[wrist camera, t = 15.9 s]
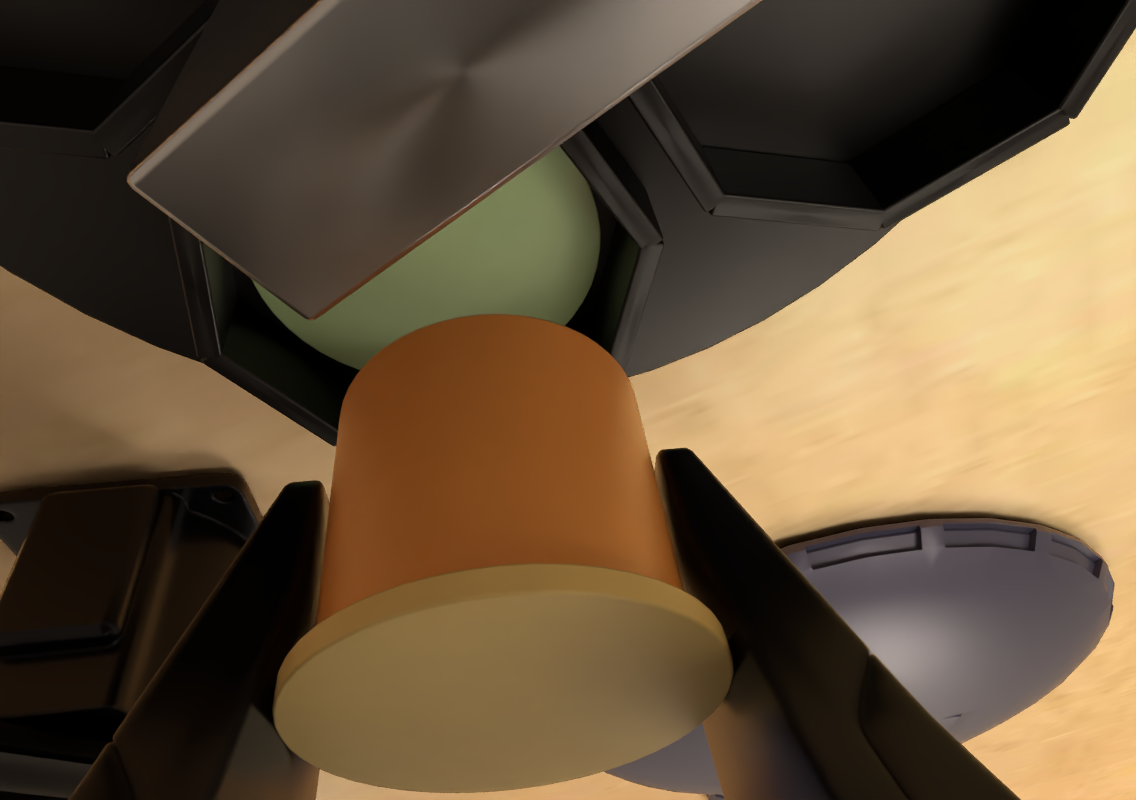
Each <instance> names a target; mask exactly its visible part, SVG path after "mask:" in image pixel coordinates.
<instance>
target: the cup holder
mask: <svg viewBox="0 0 1136 800" xmlns="http://www.w3.org/2000/svg"><path fill="white" fill-rule="evenodd" d="M1135 28H1136V0H0V266H1V267H3V268H4V269H6V270H7V271H9V272H10V273H12V274H14V275H16V276H18V277H19V278H21V279H23V280H25V281H27V282H28V283H30V284H32V285H34V286H36V287H37V288H39V289H41V290H43V291H44V292H46V293H48V294H50V295H52V296H53V297H55V298H57V299H59V300H61V301H62V302H64V303H66V304H68V305H70V306H71V307H73V308H75V309H77V310H79V311H80V312H82V313H84V314H86V315H88V316H90V317H93V318H95V319H97V320H99V321H101V322H104V323H106V324H108V325H110V326H112V327H115V328H117V329H119V330H121V331H123V332H126V333H128V334H130V335H132V336H134V337H137V338H139V339H141V340H143V341H145V342H148V343H150V344H152V345H154V346H156V347H159V348H162V349H165V350H167V351H170V352H173V353H176V354H179V355H181V356H184V357H187V358H190V359H193V360H195V361H198V362H201V363H204V364H205V365H207V366H208V367H210V368H212V369H213V370H215V371H216V372H218V373H219V374H221V375H222V376H224V377H226V378H227V379H229V380H230V381H232V382H233V383H235V384H237V385H238V386H240V387H241V388H243V389H244V390H246V391H248V392H249V393H251V394H252V395H254V396H255V397H257V398H258V399H260V400H262V401H263V402H265V403H266V404H268V405H269V406H271V407H273V408H274V409H276V410H277V411H279V412H280V413H282V414H284V415H285V416H287V417H288V418H290V419H291V420H293V421H295V422H296V423H298V424H299V425H301V426H302V427H304V428H305V429H307V430H309V431H310V432H312V433H313V434H315V435H316V436H318V437H320V438H321V439H323V440H324V441H326V442H327V443H329V444H331V445H332V446H336V445H337V437H338V428H339V420H340V413H341V408H342V403H343V400H344V397H345V395H346V393H347V390H348V388H349V386H350V384H351V383H352V381H353V380H354V378H355V377H356V375H357V374H358V373H359V371H360V370H361V369H362V368H363V367H364V366H365V365H366V364H367V362H368V361H369V360H370V359H371V358H372V357H373V356H375V355H376V354H377V353H378V352H379V351H381V350H382V349H383V348H384V347H386V346H387V345H389V344H390V343H392V342H394V341H395V340H397V339H398V338H400V337H402V336H404V335H406V334H408V333H410V332H412V331H414V330H417V329H419V328H421V327H424V326H427V325H430V324H433V323H436V322H439V321H444V320H448V319H452V318H457V317H462V316H471V315H479V314H511V315H523V316H529V317H534V318H539V319H544V320H548V321H551V322H554V323H557V324H561V325H564V326H566V327H568V328H571V329H573V330H575V331H577V332H579V333H581V334H583V335H585V336H586V337H588V338H590V339H591V340H593V341H594V342H596V343H597V344H598V345H600V346H601V347H602V348H603V349H605V350H606V351H607V352H608V353H609V354H610V355H611V356H612V357H613V358H614V359H615V360H616V361H617V362H618V364H619V365H620V366H621V367H622V369H623V370H624V372H625V373H626V375H627V377H631V376H634V375H638V374H641V373H644V372H648V371H651V370H654V369H656V368H659V367H662V366H664V365H667V364H669V363H672V362H674V361H677V360H679V359H682V358H685V357H687V356H690V355H692V354H695V353H697V352H700V351H702V350H705V349H707V348H710V347H712V346H714V345H716V344H718V343H720V342H722V341H723V340H725V339H727V338H729V337H731V336H733V335H735V334H737V333H739V332H741V331H743V330H745V329H747V328H749V327H751V326H753V325H755V324H757V323H759V322H761V321H763V320H765V319H767V318H768V317H770V316H772V315H773V314H775V313H776V312H778V311H780V310H781V309H783V308H784V307H786V306H788V305H789V304H791V303H792V302H794V301H796V300H797V299H799V298H801V297H802V296H804V295H805V294H807V293H809V292H810V291H812V290H813V289H815V288H817V287H818V286H820V285H821V284H822V283H824V282H825V281H826V280H828V279H829V278H830V277H832V276H833V275H834V274H836V273H837V272H838V271H840V270H841V269H842V268H844V267H845V266H846V265H848V264H849V263H850V262H852V261H853V260H854V259H856V258H857V257H858V256H860V255H861V254H862V253H864V252H865V251H866V250H868V249H869V248H870V247H872V246H873V245H874V244H876V243H877V242H878V241H879V240H880V239H881V238H882V237H883V236H884V235H886V234H887V233H888V232H889V231H890V230H891V229H892V228H893V227H894V226H896V225H897V224H898V223H899V222H900V221H901V220H903V219H905V218H906V217H908V216H910V215H912V214H913V213H915V212H917V211H919V210H920V209H922V208H924V207H926V206H927V205H929V204H931V203H933V202H934V201H936V200H938V199H940V198H941V197H943V196H945V195H947V194H948V193H950V192H952V191H954V190H955V189H957V188H959V187H961V186H962V185H964V184H966V183H968V182H969V181H971V180H973V179H975V178H976V177H978V176H980V175H982V174H984V173H985V172H987V171H989V170H991V169H992V168H994V167H996V166H998V165H999V164H1001V163H1003V162H1005V161H1006V160H1008V159H1010V158H1012V157H1013V156H1015V155H1017V154H1019V153H1020V152H1022V151H1024V150H1026V149H1027V148H1029V147H1031V146H1033V145H1034V144H1036V143H1038V142H1040V141H1041V140H1043V139H1045V138H1047V137H1048V136H1050V135H1052V134H1054V133H1056V132H1057V131H1059V130H1061V129H1063V128H1064V127H1066V126H1068V125H1069V123H1070V121H1069V118H1071V119H1075V118H1076V117H1077V116H1078V115H1079V113H1080V112H1081V110H1082V109H1083V107H1084V106H1085V104H1086V103H1087V101H1088V100H1089V98H1090V97H1091V95H1092V94H1093V92H1094V91H1095V89H1096V88H1097V86H1098V85H1099V83H1100V81H1101V80H1102V78H1103V77H1104V75H1105V74H1106V72H1107V71H1108V69H1109V68H1110V66H1111V65H1112V63H1113V62H1114V60H1115V59H1116V57H1117V56H1118V54H1119V53H1120V51H1121V50H1122V48H1123V47H1124V45H1125V44H1126V42H1127V41H1128V39H1129V38H1130V36H1131V35H1132V33H1133V31H1134V30H1135Z"/></svg>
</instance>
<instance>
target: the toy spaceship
mask: <svg viewBox="0 0 1136 800" xmlns="http://www.w3.org/2000/svg"><path fill="white" fill-rule="evenodd" d="M780 549H781V550H782V552H783V553H784V554H785V555H786V556H787V557H788V558H789V559H790V560H791V562H792V563H793V564H794V565H795V566H796V567H797V568H798V569H799V570H800V572H801V573H802V574H803V575H804V576H805V577H806V578H807V579H808V581H809V582H810V583H811V584H812V585H813V586H814V587H815V588H816V589H817V591H818V592H819V593H820V594H821V595H822V596H823V597H824V598H825V599H826V601H827V602H828V603H829V604H830V605H831V606H832V607H833V608H834V609H835V611H836V612H837V613H838V614H839V615H840V616H841V617H842V618H843V619H844V621H845V622H846V623H847V624H848V625H849V626H850V627H851V628H852V630H853V631H854V632H855V633H856V634H857V635H858V636H859V637H860V638H861V640H862V641H863V642H864V643H865V644H866V645H867V646H868V647H869V649H870V654H875V655H876V656H877V657H878V658H879V659H880V660H881V662H882V663H883V664H884V665H885V666H886V667H887V668H888V669H889V671H890V672H891V673H892V674H893V675H894V676H895V677H896V678H897V679H898V680H899V682H900V683H901V684H902V685H903V686H904V687H905V688H906V689H907V690H908V691H909V692H910V693H911V694H912V695H913V696H914V697H915V699H916V700H917V701H918V702H919V703H920V704H921V705H922V706H923V707H924V708H925V709H926V710H927V711H928V712H929V713H930V714H931V715H932V716H933V717H934V718H935V719H936V720H937V721H938V722H939V723H940V724H941V725H942V726H943V727H944V728H945V729H946V730H947V731H948V732H949V733H950V734H951V735H952V736H953V737H954V738H955V739H956V740H958V741H959V742H960V743H963V742H965V741H967V740H969V739H972V738H974V737H976V736H978V735H980V734H982V733H984V732H986V731H988V730H990V729H992V728H994V727H995V726H997V725H999V724H1001V723H1003V722H1005V721H1006V720H1008V719H1010V718H1011V717H1013V716H1015V715H1016V714H1018V713H1020V712H1021V711H1023V710H1025V709H1026V708H1028V707H1030V706H1031V705H1033V704H1035V703H1036V702H1037V701H1039V700H1040V699H1041V698H1043V697H1044V696H1045V695H1047V694H1048V693H1049V692H1051V691H1052V690H1053V689H1055V688H1056V687H1057V686H1058V685H1060V684H1061V683H1062V682H1063V681H1064V680H1065V679H1066V678H1067V677H1068V676H1069V675H1070V674H1071V673H1072V672H1073V671H1074V670H1075V669H1076V668H1077V667H1078V666H1079V665H1080V664H1081V663H1082V661H1083V660H1084V659H1085V658H1086V657H1087V656H1088V655H1089V654H1090V653H1091V652H1092V651H1093V650H1094V649H1095V648H1096V646H1097V644H1098V643H1099V641H1100V639H1101V637H1102V636H1103V634H1104V632H1105V630H1106V629H1107V627H1108V625H1109V622H1110V619H1111V615H1112V612H1113V605H1112V599H1113V591H1114V581H1113V579H1112V577H1111V574H1110V572H1109V570H1108V566H1107V564H1106V562H1105V561H1104V559H1103V558H1102V557H1101V556H1100V555H1099V554H1097V553H1096V552H1095V551H1094V550H1093V549H1091V548H1090V547H1089V546H1088V545H1086V544H1085V543H1084V542H1083V541H1081V540H1080V539H1079V538H1076V537H1073V536H1071V535H1068V534H1065V533H1062V532H1060V531H1057V530H1054V529H1051V528H1049V527H1046V526H1043V525H1039V524H1031V523H1024V522H1016V521H1009V520H1002V519H994V518H958V519H925V520H917V521H910V522H902V523H895V524H888V525H880V526H873V527H865V528H859V529H855V530H851V531H846V532H842V533H838V534H834V535H830V536H826V537H822V538H817V539H813V540H809V541H805V542H801V543H797V544H793V545H789V546H786V547H783V548H780ZM870 654H869V655H870ZM604 772H606V773H608V774H611V775H613V776H616V777H619V778H622V779H624V780H627V781H630V782H633V783H636V784H640V785H643V786H647V787H652V788H657V789H662V790H668V791H673V792H682V793H696V794H707V796H708V799H709V800H725V799H724V796H723V792H722V789H721V786H720V782H719V779H718V775H717V772H716V768H715V765H714V761H713V758H712V755H711V751H710V748H709V744H708V741H707V737H706V734H705V730H704V727H703V724H700V725H699V726H698V727H696V728H695V729H694V730H692V731H691V732H690V733H688V734H687V735H685V736H683V737H682V738H680V739H678V740H677V741H675V742H673V743H672V744H670V745H668V746H666V747H664V748H662V749H660V750H658V751H656V752H654V753H652V754H649V755H647V756H645V757H642V758H640V759H637V760H635V761H633V762H630V763H627V764H624V765H621V766H619V767H616V768H613V769H610V770H606V771H604Z"/></svg>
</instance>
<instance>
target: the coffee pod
mask: <svg viewBox="0 0 1136 800" xmlns="http://www.w3.org/2000/svg"><path fill="white" fill-rule="evenodd" d="M733 673H734V669H733V658H732V654H731V651H730V647H729V644H728V640H727V637H726V634H725V632H724V629H723V627H722V625H721V623H720V622H719V621H718V619H717V618H716V617H715V615H714V614H713V613H712V611H711V610H710V609H708V608H707V607H706V606H705V605H704V604H703V603H701V602H700V601H699V600H698V599H696V598H695V597H693V596H691V595H690V594H688V593H686V592H685V591H684V588H683V584H682V580H681V576H680V572H679V568H678V564H677V560H676V556H675V552H674V548H673V544H672V540H671V536H670V533H669V529H668V525H667V521H666V517H665V513H664V509H663V505H662V501H661V497H660V493H659V489H658V485H657V481H656V477H655V473H654V469H653V465H652V461H651V457H650V453H649V449H648V445H647V441H646V437H645V434H644V430H643V426H642V422H641V418H640V414H639V410H638V406H637V402H636V398H635V394H634V391H633V388H632V386H631V383H630V380H629V378H628V377H627V375H626V373H625V372H624V370H623V369H622V367H621V366H620V365H619V364H618V362H617V361H616V360H615V359H614V358H613V357H612V356H611V355H610V354H609V353H608V352H607V351H606V350H605V349H603V348H602V347H601V346H600V345H598V344H597V343H596V342H594V341H593V340H591V339H590V338H588V337H586V336H585V335H583V334H581V333H579V332H577V331H575V330H573V329H571V328H568V327H566V326H564V325H561V324H557V323H554V322H551V321H548V320H544V319H539V318H534V317H529V316H523V315H511V314H479V315H471V316H462V317H457V318H452V319H448V320H444V321H439V322H436V323H433V324H430V325H427V326H424V327H421V328H419V329H417V330H414V331H412V332H410V333H408V334H406V335H404V336H402V337H400V338H398V339H397V340H395V341H394V342H392V343H390V344H389V345H387V346H386V347H384V348H383V349H382V350H381V351H379V352H378V353H377V354H376V355H375V356H373V357H372V358H371V359H370V360H369V361H368V362H367V364H366V365H365V366H364V367H363V368H362V369H361V370H360V371H359V373H358V374H357V375H356V377H355V378H354V380H353V381H352V383H351V384H350V386H349V388H348V390H347V393H346V395H345V397H344V400H343V403H342V408H341V413H340V420H339V428H338V437H337V445H336V454H335V463H334V471H333V480H332V488H331V497H330V505H329V514H328V522H327V531H326V539H325V548H324V556H323V565H322V573H321V582H320V590H319V599H318V607H317V616H316V624H315V627H314V628H313V629H311V630H310V631H309V632H308V633H307V634H306V635H304V636H303V637H302V638H301V639H300V640H299V641H298V642H297V643H296V645H295V646H294V647H293V648H292V650H291V651H290V652H289V653H288V654H287V656H286V657H285V659H284V661H283V663H282V665H281V668H280V670H279V672H278V675H277V681H276V686H275V693H274V699H273V706H272V714H273V722H274V726H275V728H276V730H277V732H278V734H279V736H280V737H281V739H282V740H283V742H284V743H285V744H286V746H287V747H288V748H289V749H290V750H291V751H292V752H294V753H295V754H296V755H297V756H299V757H300V758H301V759H303V760H304V761H306V762H308V763H310V764H311V765H313V766H315V767H317V768H319V769H321V770H324V771H326V772H329V773H331V774H333V775H336V776H339V777H342V778H346V779H349V780H352V781H355V782H360V783H364V784H369V785H373V786H378V787H385V788H391V789H398V790H407V791H417V792H435V793H475V792H494V791H504V790H514V789H523V788H529V787H536V786H543V785H548V784H553V783H559V782H564V781H569V780H573V779H577V778H581V777H585V776H589V775H593V774H596V773H600V772H603V771H606V770H610V769H613V768H616V767H619V766H621V765H624V764H627V763H630V762H633V761H635V760H637V759H640V758H642V757H645V756H647V755H649V754H652V753H654V752H656V751H658V750H660V749H662V748H664V747H666V746H668V745H670V744H672V743H673V742H675V741H677V740H678V739H680V738H682V737H683V736H685V735H687V734H688V733H690V732H691V731H692V730H694V729H695V728H696V727H698V726H699V725H700V724H702V723H703V722H704V721H705V720H706V719H707V718H708V717H709V716H710V715H711V714H713V713H714V712H715V711H716V709H717V708H718V707H719V705H720V704H721V703H722V702H723V700H724V699H725V697H726V695H727V693H728V691H729V688H730V685H731V682H732V678H733Z"/></svg>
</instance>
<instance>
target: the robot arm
mask: <svg viewBox="0 0 1136 800" xmlns="http://www.w3.org/2000/svg"><path fill="white" fill-rule="evenodd" d="M654 473H655V477H656V481H657V485H658V489H659V493H660V497H661V501H662V505H663V509H664V513H665V517H666V521H667V525H668V529H669V533H670V536H671V540H672V544H673V548H674V552H675V556H676V560H677V564H678V568H679V572H680V576H681V580H682V584H683V588H684V591H685V592H686V593H688V594H690V595H691V596H693V597H695V598H696V599H698V600H699V601H700V602H701V603H703V604H704V605H705V606H706V607H707V608H708V609H710V610H711V611H712V613H713V614H714V615H715V617H716V618H717V619H718V621H719V622H720V623H721V625H722V627H723V629H724V632H725V634H726V637H727V640H728V644H729V647H730V651H731V654H732V658H733V669H734V673H733V678H732V682H731V685H730V688H729V691H728V693H727V695H726V697H725V699H724V700H723V702H722V703H721V704H720V705H719V707H718V708H717V709H716V711H715V712H714V713H713V714H711V715H710V716H709V717H708V718H707V719H706V720H705V721H704V722H703V723H702V724H703V727H704V730H705V734H706V737H707V741H708V744H709V748H710V751H711V755H712V758H713V761H714V765H715V768H716V772H717V775H718V779H719V782H720V786H721V789H722V792H723V796H724V799H725V800H1021V799H1020V798H1019V797H1017V796H1016V795H1015V794H1014V793H1013V792H1012V791H1011V790H1010V789H1009V788H1008V787H1007V786H1006V785H1005V784H1003V783H1002V782H1001V781H1000V780H999V779H998V778H997V777H996V776H995V775H994V774H993V773H992V772H990V771H989V770H988V769H987V768H986V767H985V766H984V765H983V764H982V763H981V762H980V761H979V760H978V759H976V758H975V757H974V756H973V755H972V754H971V753H970V752H969V751H968V750H967V749H966V748H965V747H964V746H963V745H962V744H961V743H960V742H959V741H958V740H956V739H955V738H954V737H953V736H952V735H951V734H950V733H949V732H948V731H947V730H946V729H945V728H944V727H943V726H942V725H941V724H940V723H939V722H938V721H937V720H936V719H935V718H934V717H933V716H932V715H931V714H930V713H929V712H928V711H927V710H926V709H925V708H924V707H923V706H922V705H921V704H920V703H919V702H918V701H917V700H916V699H915V697H914V696H913V695H912V694H911V693H910V692H909V691H908V690H907V689H906V688H905V687H904V686H903V685H902V684H901V683H900V682H899V680H898V679H897V678H896V677H895V676H894V675H893V674H892V673H891V672H890V671H889V669H888V668H887V667H886V666H885V665H884V664H883V663H882V662H881V660H880V659H879V658H878V657H877V656H876V655H875V654H870V649H869V647H868V646H867V645H866V644H865V643H864V642H863V641H862V640H861V638H860V637H859V636H858V635H857V634H856V633H855V632H854V631H853V630H852V628H851V627H850V626H849V625H848V624H847V623H846V622H845V621H844V619H843V618H842V617H841V616H840V615H839V614H838V613H837V612H836V611H835V609H834V608H833V607H832V606H831V605H830V604H829V603H828V602H827V601H826V599H825V598H824V597H823V596H822V595H821V594H820V593H819V592H818V591H817V589H816V588H815V587H814V586H813V585H812V584H811V583H810V582H809V581H808V579H807V578H806V577H805V576H804V575H803V574H802V573H801V572H800V570H799V569H798V568H797V567H796V566H795V565H794V564H793V563H792V562H791V560H790V559H789V558H788V557H787V556H786V555H785V554H784V553H783V552H782V550H781V549H780V548H779V547H778V546H777V545H776V544H775V543H774V542H773V540H772V539H771V538H770V537H769V536H768V535H767V534H766V533H765V532H764V530H763V529H762V528H761V527H760V526H759V525H758V524H757V523H756V521H755V520H754V519H753V518H752V517H751V516H750V515H749V514H748V513H747V511H746V510H745V509H744V508H743V507H742V506H741V505H740V504H739V503H738V501H737V500H736V499H735V498H734V497H733V496H732V495H731V494H730V493H729V491H728V490H727V489H726V488H725V487H724V486H723V485H722V484H721V483H720V481H719V480H718V479H717V478H716V477H715V476H714V475H713V474H712V472H711V471H710V470H709V469H708V468H707V467H706V466H705V465H704V464H703V462H702V461H701V460H700V459H699V458H698V457H697V456H696V455H695V454H694V452H693V451H691V450H690V449H688V448H676V449H665V450H661V451H659V452H658V454H657V457H656V463H655V470H654ZM329 505H330V502H329V499H328V497H327V494H326V491H325V488H324V486H323V484H322V483H321V482H320V481H316V480H314V481H303V482H293V483H289V484H288V485H286V486H285V487H284V488H283V489H282V491H281V492H280V494H279V495H278V497H277V498H276V499H275V501H274V502H273V504H272V505H271V507H270V508H269V510H268V511H267V513H266V514H265V515H264V517H263V518H262V515H261V513H260V511H259V509H258V507H257V505H256V502H255V500H254V498H253V496H252V494H251V492H250V489H249V487H248V485H247V483H246V482H245V481H244V479H242V478H241V477H239V476H237V475H234V474H230V473H217V474H206V475H194V476H182V477H170V478H159V479H147V480H135V481H123V482H112V483H100V484H88V485H76V486H64V487H53V488H41V489H29V490H17V491H6V492H0V538H1V539H2V540H3V542H4V543H5V544H6V545H7V546H8V547H9V548H10V549H11V550H12V552H13V553H14V554H15V555H16V556H17V557H16V560H15V562H14V564H13V567H12V569H11V571H10V574H9V576H8V578H7V581H6V583H5V585H4V587H3V590H2V592H1V594H0V800H315V799H316V792H317V785H318V777H319V770H320V769H319V768H317V767H315V766H313V765H311V764H310V763H308V762H306V761H304V760H303V759H301V758H300V757H299V756H297V755H296V754H295V753H294V752H292V751H291V750H290V749H289V748H288V747H287V746H286V744H285V743H284V742H283V740H282V739H281V737H280V736H279V734H278V732H277V730H276V728H275V726H274V722H273V714H272V706H273V699H274V693H275V686H276V681H277V675H278V672H279V670H280V668H281V665H282V663H283V661H284V659H285V657H286V656H287V654H288V653H289V652H290V651H291V650H292V648H293V647H294V646H295V645H296V643H297V642H298V641H299V640H300V639H301V638H302V637H303V636H304V635H306V634H307V633H308V632H309V631H310V630H311V629H313V628H314V627H315V624H316V616H317V607H318V599H319V590H320V582H321V573H322V565H323V556H324V548H325V539H326V531H327V522H328V514H329ZM869 654H870V655H869Z"/></svg>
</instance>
